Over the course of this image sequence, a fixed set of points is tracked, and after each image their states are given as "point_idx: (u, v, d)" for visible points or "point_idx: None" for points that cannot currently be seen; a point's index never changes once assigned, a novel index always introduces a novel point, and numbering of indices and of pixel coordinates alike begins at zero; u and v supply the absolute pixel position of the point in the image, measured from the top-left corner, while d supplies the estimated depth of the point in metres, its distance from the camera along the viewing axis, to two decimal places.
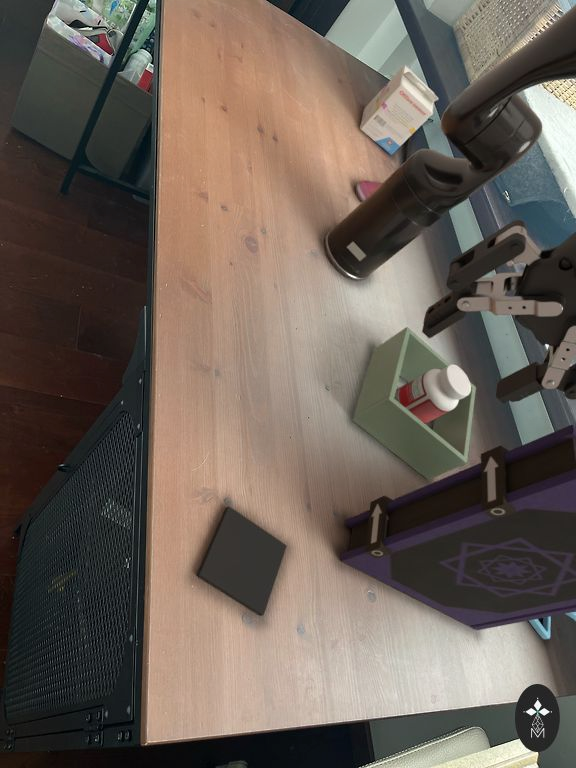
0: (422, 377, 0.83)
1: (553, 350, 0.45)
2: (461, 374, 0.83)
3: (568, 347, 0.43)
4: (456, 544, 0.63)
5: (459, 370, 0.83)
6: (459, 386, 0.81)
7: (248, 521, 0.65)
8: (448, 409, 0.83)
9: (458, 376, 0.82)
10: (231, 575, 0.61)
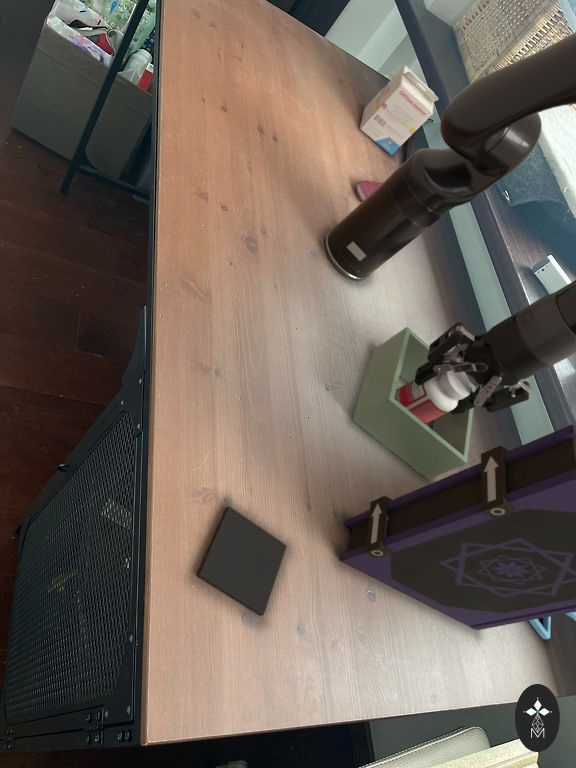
0: None
1: (482, 385, 0.81)
2: (461, 374, 0.83)
3: (490, 386, 0.79)
4: (456, 544, 0.63)
5: None
6: (460, 386, 0.81)
7: (248, 521, 0.65)
8: (448, 409, 0.83)
9: (458, 376, 0.82)
10: (231, 575, 0.61)
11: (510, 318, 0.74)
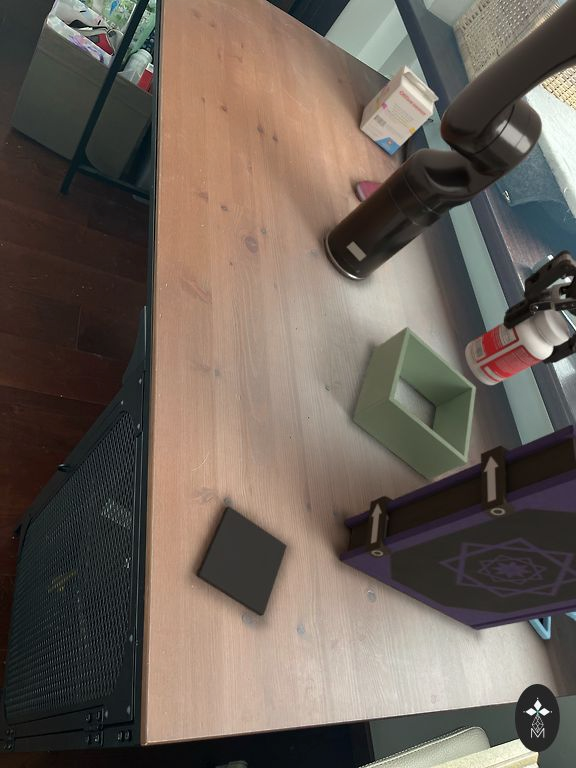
0: None
1: None
2: (558, 316, 0.72)
3: None
4: (456, 544, 0.63)
5: (556, 312, 0.72)
6: (558, 329, 0.70)
7: (248, 521, 0.65)
8: (543, 357, 0.72)
9: (556, 318, 0.71)
10: (231, 575, 0.61)
11: None
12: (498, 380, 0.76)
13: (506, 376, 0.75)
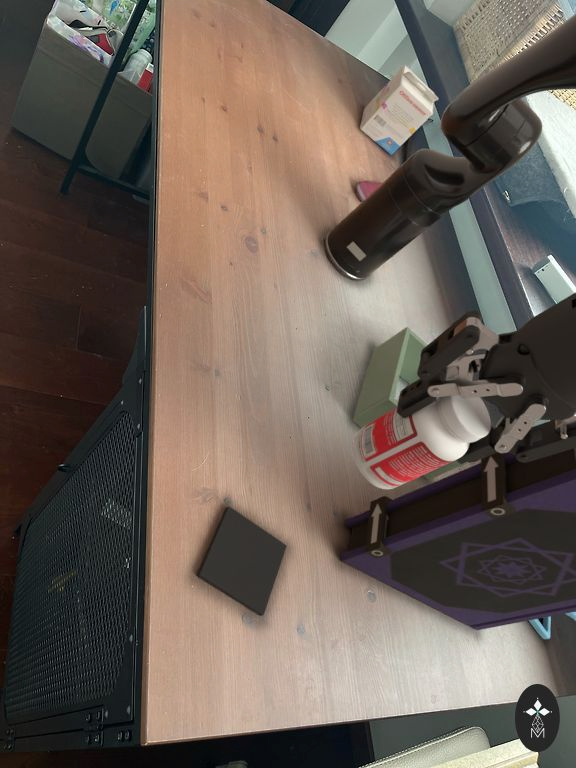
0: None
1: (510, 419, 0.48)
2: (474, 400, 0.50)
3: (526, 420, 0.46)
4: (456, 544, 0.63)
5: None
6: (472, 420, 0.48)
7: (248, 521, 0.65)
8: (453, 458, 0.50)
9: (470, 403, 0.49)
10: (231, 575, 0.61)
11: (565, 302, 0.41)
12: (397, 484, 0.54)
13: (407, 480, 0.53)
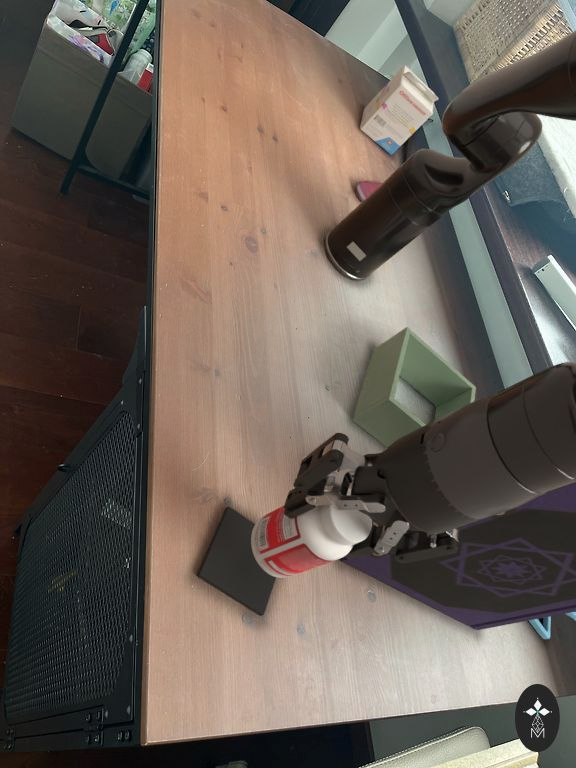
0: None
1: None
2: None
3: (395, 532, 0.48)
4: None
5: None
6: (351, 525, 0.51)
7: (248, 521, 0.65)
8: (336, 558, 0.52)
9: None
10: (231, 575, 0.61)
11: (417, 434, 0.43)
12: (291, 575, 0.57)
13: (299, 572, 0.56)
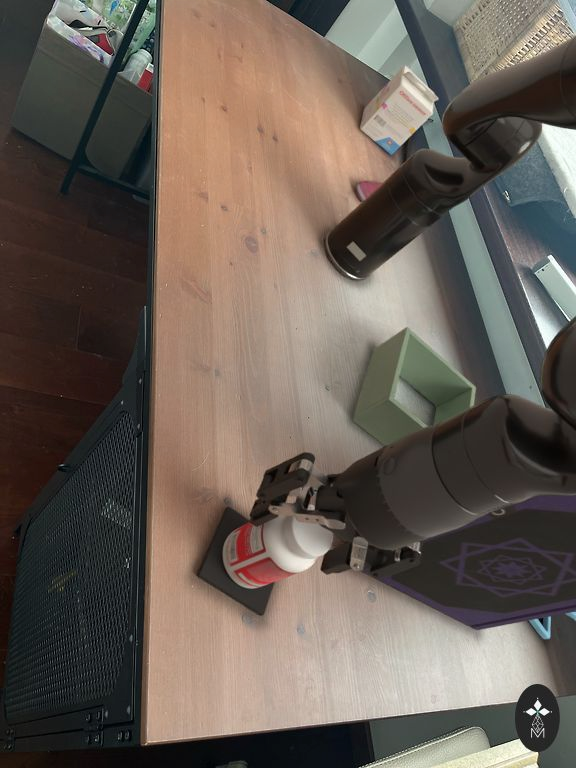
0: None
1: None
2: None
3: (359, 548, 0.52)
4: (456, 544, 0.63)
5: None
6: (312, 540, 0.54)
7: (248, 521, 0.65)
8: (299, 570, 0.56)
9: None
10: None
11: (372, 457, 0.47)
12: (260, 585, 0.60)
13: (267, 583, 0.59)
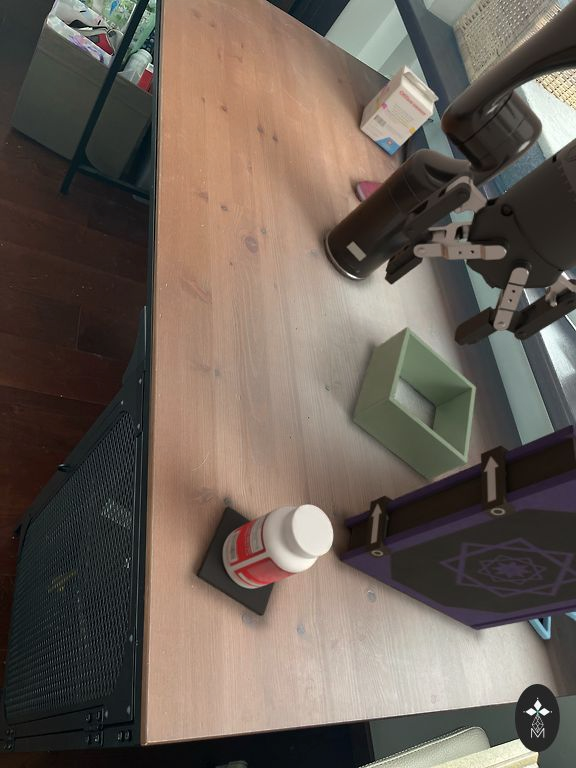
0: (263, 521, 0.57)
1: (502, 293, 0.50)
2: (319, 518, 0.56)
3: (514, 289, 0.48)
4: (456, 544, 0.63)
5: (316, 512, 0.56)
6: (312, 540, 0.54)
7: (248, 521, 0.65)
8: (299, 570, 0.56)
9: (312, 523, 0.55)
10: None
11: (547, 160, 0.42)
12: (260, 585, 0.60)
13: (267, 583, 0.59)
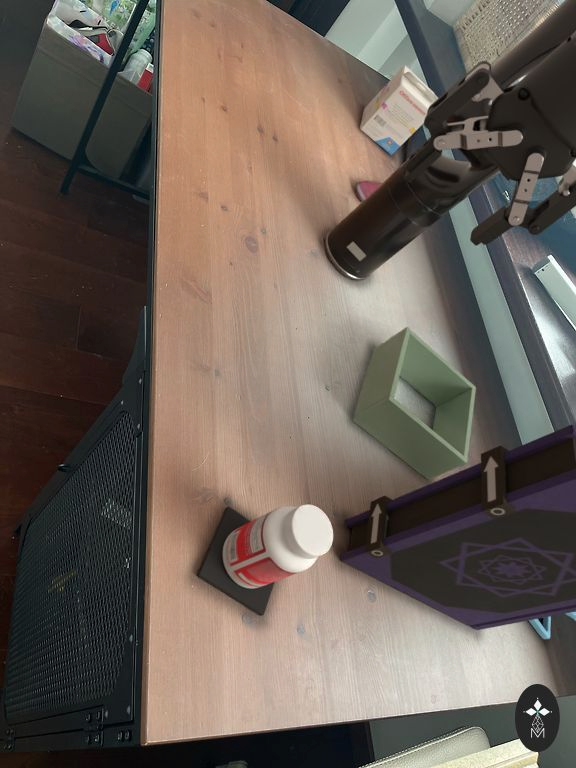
0: (263, 521, 0.57)
1: (517, 187, 0.52)
2: (319, 518, 0.56)
3: (529, 177, 0.50)
4: (456, 544, 0.63)
5: (316, 512, 0.56)
6: (312, 540, 0.54)
7: (248, 521, 0.65)
8: (299, 570, 0.56)
9: (312, 523, 0.55)
10: None
11: (561, 43, 0.45)
12: (260, 585, 0.60)
13: (267, 583, 0.59)
